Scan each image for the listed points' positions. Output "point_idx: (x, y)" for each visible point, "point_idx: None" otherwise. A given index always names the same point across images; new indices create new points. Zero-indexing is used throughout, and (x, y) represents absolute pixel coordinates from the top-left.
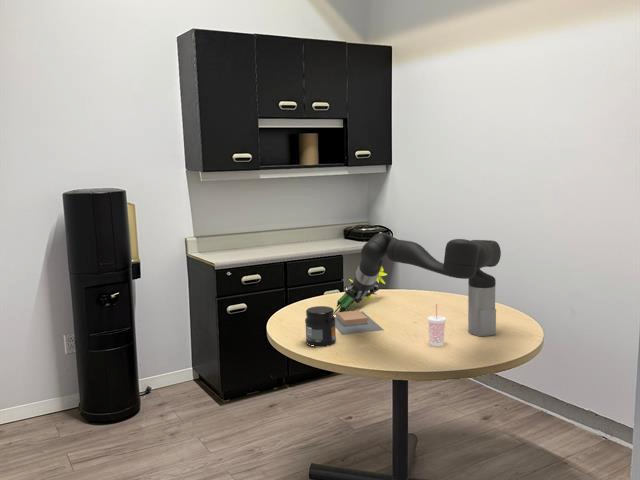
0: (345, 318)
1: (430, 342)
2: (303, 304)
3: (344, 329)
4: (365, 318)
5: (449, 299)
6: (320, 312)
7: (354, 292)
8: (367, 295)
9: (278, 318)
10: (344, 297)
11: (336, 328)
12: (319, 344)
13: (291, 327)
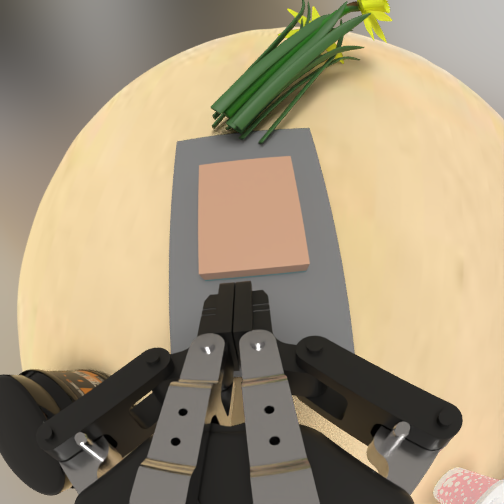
0: (209, 248)
1: (436, 494)
2: (166, 68)
3: (195, 316)
4: (299, 265)
5: (496, 128)
6: (23, 474)
7: (178, 380)
8: (313, 398)
9: (70, 154)
10: (243, 87)
11: (169, 294)
12: None
13: (62, 232)
